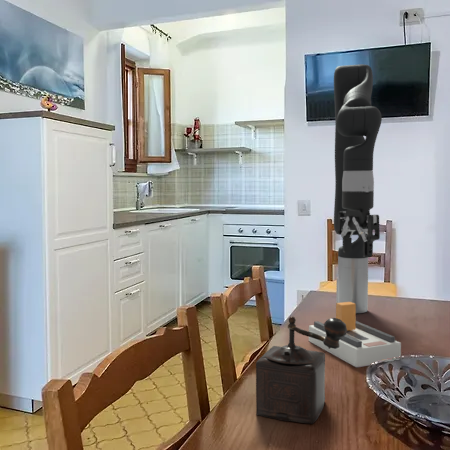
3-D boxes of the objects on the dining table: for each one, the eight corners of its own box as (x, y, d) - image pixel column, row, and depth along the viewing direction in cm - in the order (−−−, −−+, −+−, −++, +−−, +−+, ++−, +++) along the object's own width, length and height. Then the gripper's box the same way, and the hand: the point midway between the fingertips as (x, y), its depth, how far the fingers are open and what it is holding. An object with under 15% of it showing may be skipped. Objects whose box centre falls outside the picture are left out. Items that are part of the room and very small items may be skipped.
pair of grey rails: (314, 326, 125) (314, 321, 125) (347, 322, 129) (347, 317, 129) (357, 347, 108) (357, 342, 108) (394, 342, 112) (394, 336, 112)
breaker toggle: (335, 328, 121) (336, 303, 121) (349, 326, 123) (349, 301, 122) (341, 331, 119) (341, 305, 119) (355, 329, 120) (355, 303, 120)
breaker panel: (308, 341, 126) (308, 325, 126) (348, 335, 130) (348, 320, 130) (356, 367, 107) (356, 349, 107) (400, 360, 112) (401, 342, 111)
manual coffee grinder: (252, 416, 85) (252, 313, 83) (272, 392, 95) (271, 300, 93) (344, 433, 79) (345, 323, 77) (354, 405, 89) (355, 307, 87)
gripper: (328, 189, 127) (328, 251, 128) (362, 190, 113) (361, 260, 115) (353, 188, 129) (352, 249, 131) (389, 189, 116) (388, 257, 118)
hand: (357, 254), depth 123 cm, fingers open, 8 cm apart
